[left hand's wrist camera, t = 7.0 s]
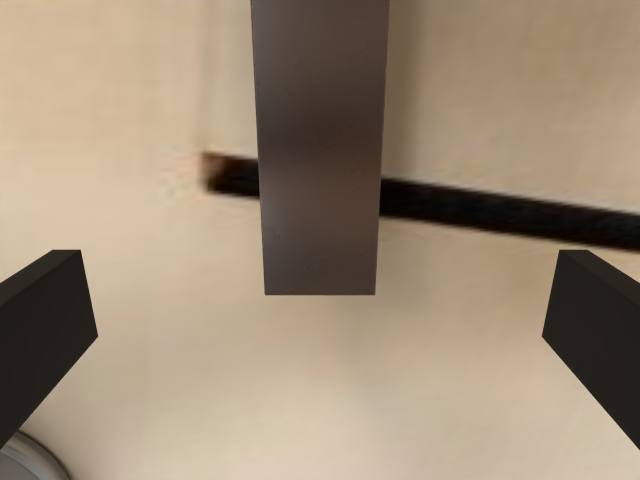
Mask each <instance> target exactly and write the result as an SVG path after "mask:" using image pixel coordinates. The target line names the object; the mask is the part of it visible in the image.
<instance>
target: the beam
mask: <svg viewBox="0 0 640 480" xmlns="http://www.w3.org/2000/svg"><path fill="white" fill-rule="evenodd" d="M251 20H252V41H253V61H254V82H255V103H256V123H257V144H258V164H259V185H260V206H261V226H262V247H263V267H264V288H265V295H375V288H376V268H377V247H378V226H379V206H380V185H381V165H382V144H383V123H384V103H385V82H386V61H387V41H388V20H389V0H251Z"/></svg>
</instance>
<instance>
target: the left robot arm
mask: <svg viewBox="0 0 640 480" xmlns="http://www.w3.org/2000/svg"><path fill="white" fill-rule="evenodd" d="M97 337H98V333H97V328H96V323H95V318H94V313H93V308H92V303H91V299H90V294H89V289H88V284H87V279H86V274H85V269H84V264H83V259H82V254H81V250H52V251H50V252H48V253H47V254H45V255H44V256H42V257H41V258H39V259H37V260H36V261H34V262H33V263H31V264H30V265H28V266H26V267H25V268H23V269H22V270H20V271H19V272H17V273H15V274H14V275H12V276H11V277H9V278H8V279H6V280H5V281H3V282H1V283H0V480H70V479H69V477H68V476H67V474H66V472H65V471H64V469H63V468H62V467H61V465H60V464H59V463H58V462H57V461H56V460H55V459H54V457H52V456H51V455H50V454H49V453H48V452H47V451H46V450H45V449H43V448H42V447H41V446H40V445H38V444H37V443H35V442H34V441H33V440H31V439H29V438H28V437H26V436H24V435H23V434H21V433H19V432H17V430H18V429H19V428H20V427H21V425H22V424H23V423H24V422H25V421H26V420H27V419H28V417H29V416H30V415H31V414H32V413H33V412H34V410H35V409H36V408H37V407H38V406H39V405H40V403H41V402H42V401H43V400H44V399H45V398H46V396H47V395H48V394H49V393H50V392H51V391H52V390H53V388H54V387H55V386H56V385H57V384H58V383H59V381H60V380H61V379H62V378H63V377H64V376H65V374H66V373H67V372H68V371H69V370H70V369H71V367H72V366H73V365H74V364H75V363H76V362H77V361H78V359H79V358H80V357H81V356H82V355H83V354H84V352H85V351H86V350H87V349H88V348H89V347H90V345H91V344H92V343H93V342H94V341H95V340H96V338H97ZM542 337H543V338H544V340H545V341H546V342H547V343H548V344H549V345H550V347H551V348H552V349H553V350H554V351H555V352H556V354H557V355H558V356H559V357H560V358H561V359H562V361H563V362H564V363H565V364H566V365H567V366H568V367H569V369H570V370H571V371H572V372H573V373H574V374H575V376H576V377H577V378H578V379H579V380H580V381H581V383H582V384H583V385H584V386H585V387H586V388H587V390H588V391H589V392H590V393H591V394H592V395H593V396H594V398H595V399H596V400H597V401H598V402H599V403H600V405H601V406H602V407H603V408H604V409H605V410H606V412H607V413H608V414H609V415H610V416H611V417H612V419H613V420H614V421H615V422H616V423H617V424H618V425H619V427H620V428H621V429H622V430H623V431H624V432H625V434H626V435H627V436H628V437H629V438H630V439H631V441H632V442H633V443H634V444H635V445H636V446H637V448H638V449H639V450H640V283H639V282H637V281H635V280H634V279H632V278H631V277H629V276H628V275H626V274H625V273H623V272H621V271H620V270H618V269H617V268H615V267H614V266H612V265H610V264H609V263H607V262H606V261H604V260H603V259H601V258H599V257H598V256H596V255H595V254H593V253H592V252H590V251H588V250H559V254H558V259H557V264H556V269H555V274H554V279H553V284H552V289H551V294H550V299H549V303H548V308H547V313H546V318H545V323H544V328H543V333H542Z"/></svg>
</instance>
